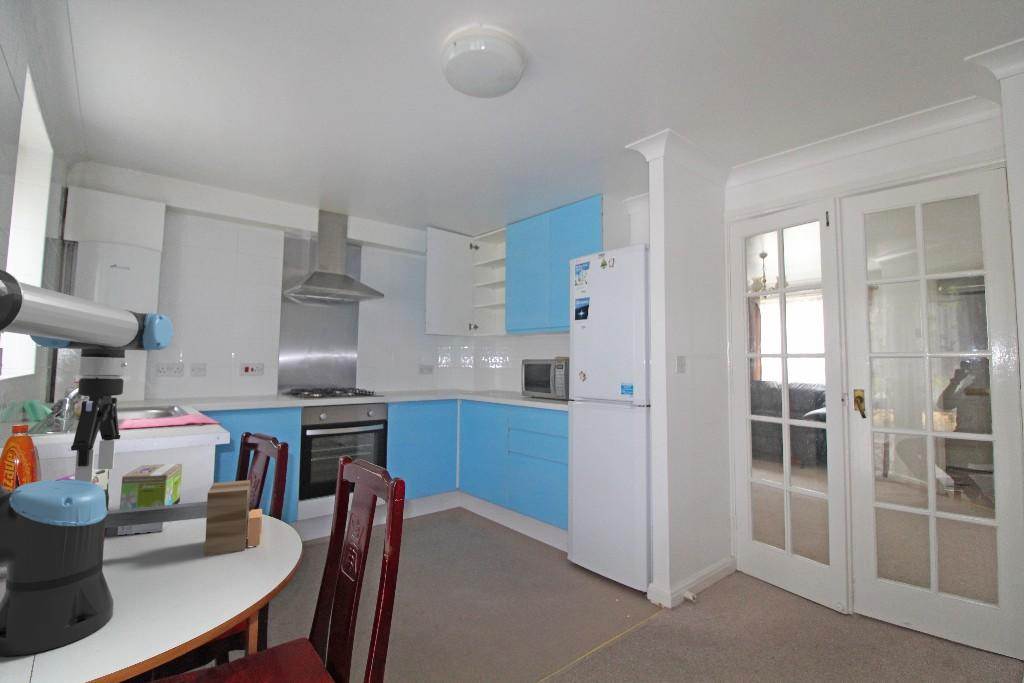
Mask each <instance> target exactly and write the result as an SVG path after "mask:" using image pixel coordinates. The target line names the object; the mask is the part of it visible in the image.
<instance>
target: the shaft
mask: <svg viewBox="0 0 1024 683" xmlns="http://www.w3.org/2000/svg"><path fill="white" fill-rule="evenodd" d="M104 492H105V496H106V508H107V496H108V493H109V488H108V489H107V490H104ZM206 518H207V501H197V502H188V503H187V502H186V503H180V504H173V505H162V506H151V507H139V508H128V509H120V508H119V509H110V510H109V509H108V510H107V515H106V518H105V528H107V529H108V528H109V529H111V528H118V527H120V526H130V525H140V524H150V523H160V522H170V521H171V522H178V521H179V522H181V521H189V520H198V519H206ZM171 522H170V523H171Z"/></svg>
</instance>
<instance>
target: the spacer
mask: <svg viewBox="0 0 1024 683" xmlns="http://www.w3.org/2000/svg"><path fill="white" fill-rule="evenodd" d="M262 521H263V508H256V509H251V510H250V511H249V521H248V538H247V547H248V546H258V545H261V541H260V540H262V526H263V524H262V523H263V522H262Z"/></svg>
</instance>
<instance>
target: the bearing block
mask: <svg viewBox="0 0 1024 683" xmlns="http://www.w3.org/2000/svg"><path fill="white" fill-rule="evenodd" d="M250 492H251V480H250V479H247V480H235V481H234V480H233V481H222V482H220V481H219V482H213V483H212V485H211V486H210V488H209V490H208V491H207V497H206V499H207V500H206V502H207V518H205V519H206V520H205V521H206V522H205V524H206V525H205V543H204V544H205V545H204V556H205V557H206V556H214V555H213V554H215V555H219V554H220V555H221V553H222V554H228V553H227V552H230V553H235V552H234V551H238V552H241V551H240V550H245V551H246V548H245V547H247V543H248V538H247V537H248V526H249V516H250V494H251V493H250ZM246 542H247V543H246Z"/></svg>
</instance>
